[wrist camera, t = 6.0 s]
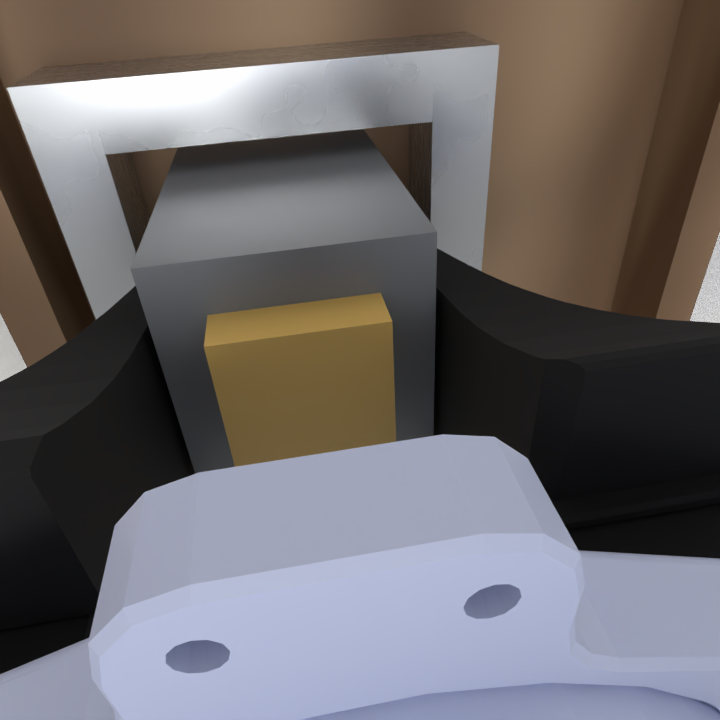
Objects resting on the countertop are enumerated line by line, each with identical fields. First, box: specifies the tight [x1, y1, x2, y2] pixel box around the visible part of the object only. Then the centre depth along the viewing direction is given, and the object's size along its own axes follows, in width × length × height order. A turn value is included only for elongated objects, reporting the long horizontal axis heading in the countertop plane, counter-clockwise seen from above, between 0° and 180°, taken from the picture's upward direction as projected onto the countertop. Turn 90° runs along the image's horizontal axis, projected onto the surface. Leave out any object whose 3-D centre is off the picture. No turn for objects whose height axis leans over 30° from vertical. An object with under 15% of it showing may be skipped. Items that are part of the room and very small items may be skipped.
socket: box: [7, 31, 499, 319], centre depth 13 cm, size 8×8×2 cm
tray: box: [0, 0, 720, 368], centre depth 15 cm, size 16×18×2 cm
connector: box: [130, 129, 437, 474], centre depth 11 cm, size 4×4×7 cm
